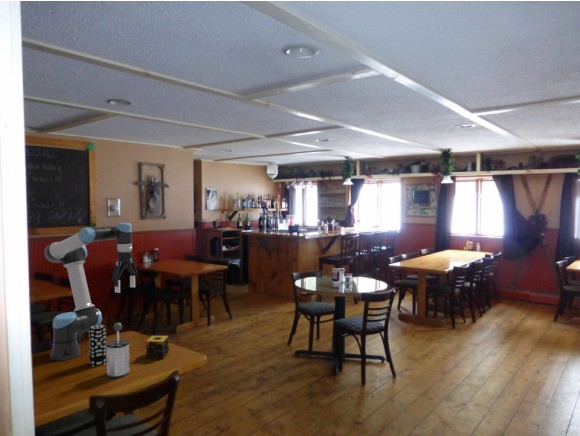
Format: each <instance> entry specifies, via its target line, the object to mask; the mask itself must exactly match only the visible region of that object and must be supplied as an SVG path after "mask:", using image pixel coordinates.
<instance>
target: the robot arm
mask: <svg viewBox="0 0 580 436" xmlns="http://www.w3.org/2000/svg"><path fill="white" fill-rule="evenodd" d="M132 228H133V227H132V223H130V222H118V223H117V224H116V226H115V225H104V226H94V227H93V226H92V227H90V226H89V227H81V229H79V231H78V233H75V234H73V235H72V236H69V237H67V238H65V239H63V240H61V241H55V242H52V243H50V244H49V245H47V246H46V247H45V249H44V256H45V259H46V260H47V261H48V262H51V263H54V264H61V263H62V264H63V267H64V268H66V269H67V270H66V271H67V273H68V279H69V283H70V287H71V292H72V296H73V297H72V298H73V301H74V305H75V308H74V309H73V311H68V312H63V313H60V314H57V315H56V316H54V318H53V320H52V336H53V337H52V338H53V341H52V342H53V343H52V347H51V350H50V354H49V358H50V360H52V361H58V362H59V361H68V360H71V359H75V358H77V357H79V356H80V355H81V348H80V346H79V343H78V340H77V339H78V338H77V337H78V335H80V334H82V333H85V332H89V327H90V326H93V325H100V324H101V323H102V321H103V316H102V315H103V314H102V312H101V310H100V309H99V308H96V306H95V304H93V303H92V300H91V296H90V290H89V287H88V282H87V278H86V277H87V276H86V274H85V269H84V264H85V262H86V258H87V257H88V249H87V245H88V244H91V243H93V242H101V241H111V240H112V241H113V240H115V241H116V242H117V244H116V245H117V246H116V251H117V253H116V254H117V260H118V261H115V262H114V268H113V271H112V274H111V275H112V276H111V281H114V293H118V294H120V293H121V280H120V279H121V277H122V273H123V272H124V270H125V269H127V271H128V272H129V274H130V276H129V288H136V276H138V269H137V265H136V263H135V258H133V252H132V250H133V229H132Z"/></svg>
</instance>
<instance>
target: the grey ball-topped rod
mask: <svg viewBox="0 0 580 436" xmlns="http://www.w3.org/2000/svg"><path fill="white" fill-rule="evenodd" d="M113 329H114V331H116V340H117V343H119V340H120V331H121V330H122V329H123V325H122V323H121V322H115V323H114V324H113Z"/></svg>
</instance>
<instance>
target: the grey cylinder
mask: <svg viewBox="0 0 580 436" xmlns="http://www.w3.org/2000/svg"><path fill="white" fill-rule="evenodd" d="M129 374H130V341H129V339H124V338H121V339H119V343H117V339H114V340H109V341H107V342H106V376H107V377H108V378H110V379H120V378H124V377H126V376H128V375H129Z"/></svg>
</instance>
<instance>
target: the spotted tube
mask: <svg viewBox="0 0 580 436" xmlns="http://www.w3.org/2000/svg"><path fill="white" fill-rule="evenodd" d="M106 344H107V325H106V324H101V323H100V325H93V326H90V327H89V331H88V349H89V351H88V355H89V357H88V359H89V366H90V367H100V366H104V365H107V345H106Z"/></svg>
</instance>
